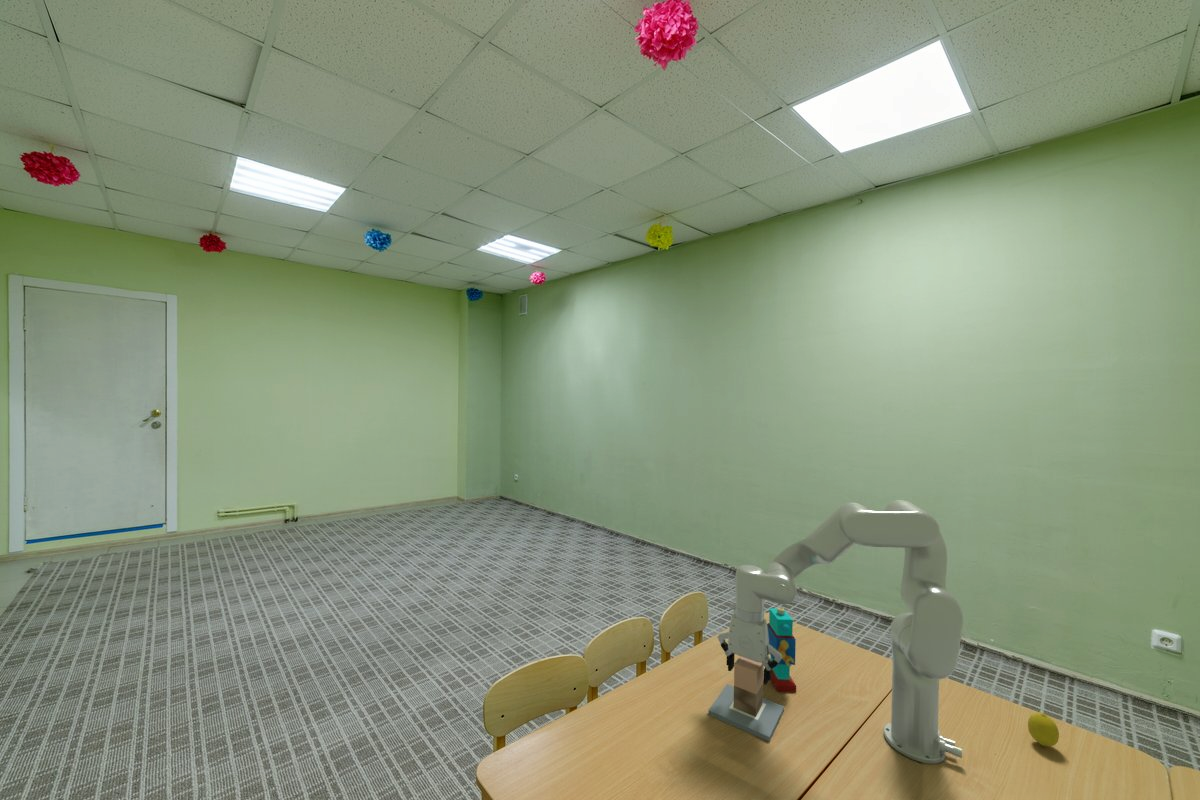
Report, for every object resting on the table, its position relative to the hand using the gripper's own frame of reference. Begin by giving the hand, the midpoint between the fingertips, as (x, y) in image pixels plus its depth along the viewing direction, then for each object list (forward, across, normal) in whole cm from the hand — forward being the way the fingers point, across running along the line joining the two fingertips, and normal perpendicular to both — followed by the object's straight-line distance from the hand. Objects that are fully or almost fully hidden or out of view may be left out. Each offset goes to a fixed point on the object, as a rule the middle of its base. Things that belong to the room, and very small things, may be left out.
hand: (748, 675), depth 123 cm
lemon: (+10, +63, +32) cm, 71 cm away
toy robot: (+10, +4, +18) cm, 21 cm away
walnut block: (+8, 0, 0) cm, 8 cm away
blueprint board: (+10, 0, -1) cm, 10 cm away
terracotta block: (+2, 0, 0) cm, 2 cm away
